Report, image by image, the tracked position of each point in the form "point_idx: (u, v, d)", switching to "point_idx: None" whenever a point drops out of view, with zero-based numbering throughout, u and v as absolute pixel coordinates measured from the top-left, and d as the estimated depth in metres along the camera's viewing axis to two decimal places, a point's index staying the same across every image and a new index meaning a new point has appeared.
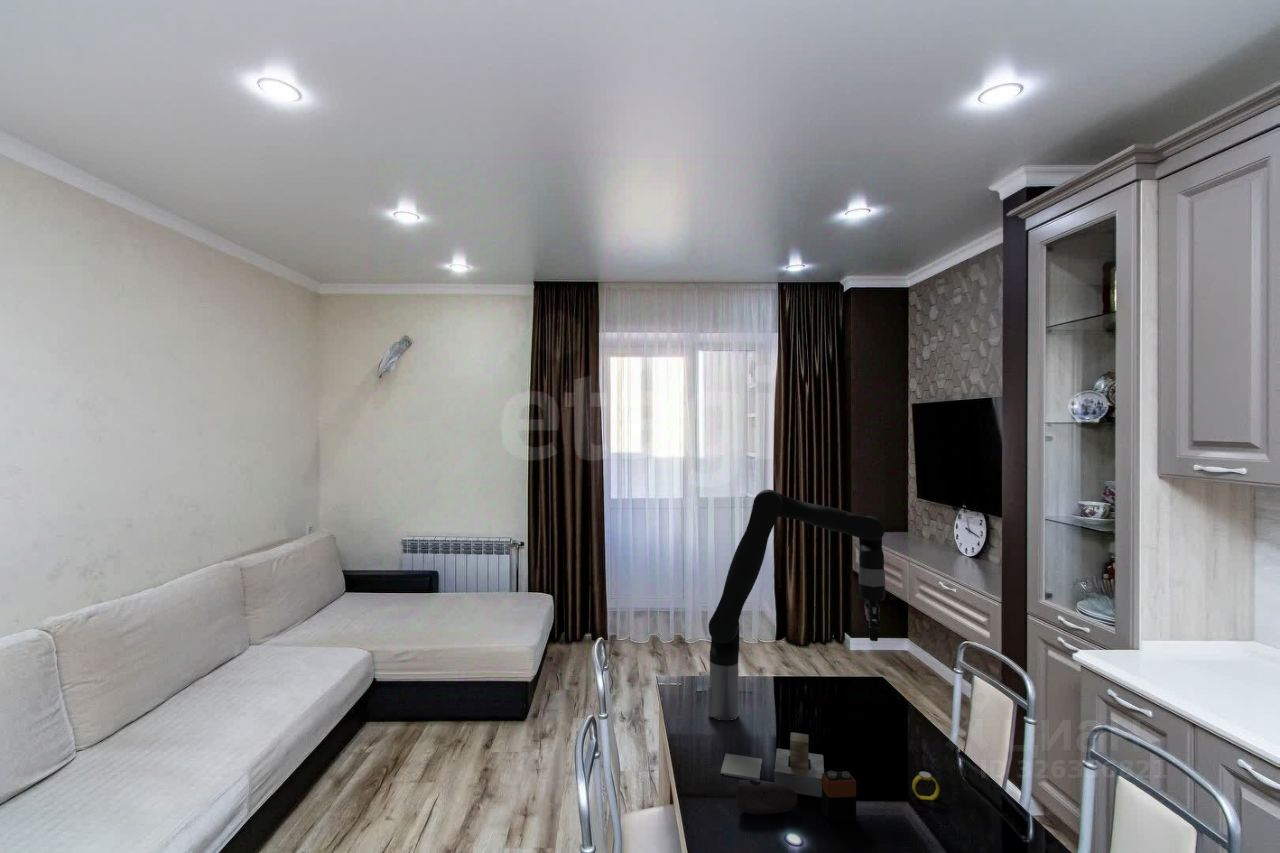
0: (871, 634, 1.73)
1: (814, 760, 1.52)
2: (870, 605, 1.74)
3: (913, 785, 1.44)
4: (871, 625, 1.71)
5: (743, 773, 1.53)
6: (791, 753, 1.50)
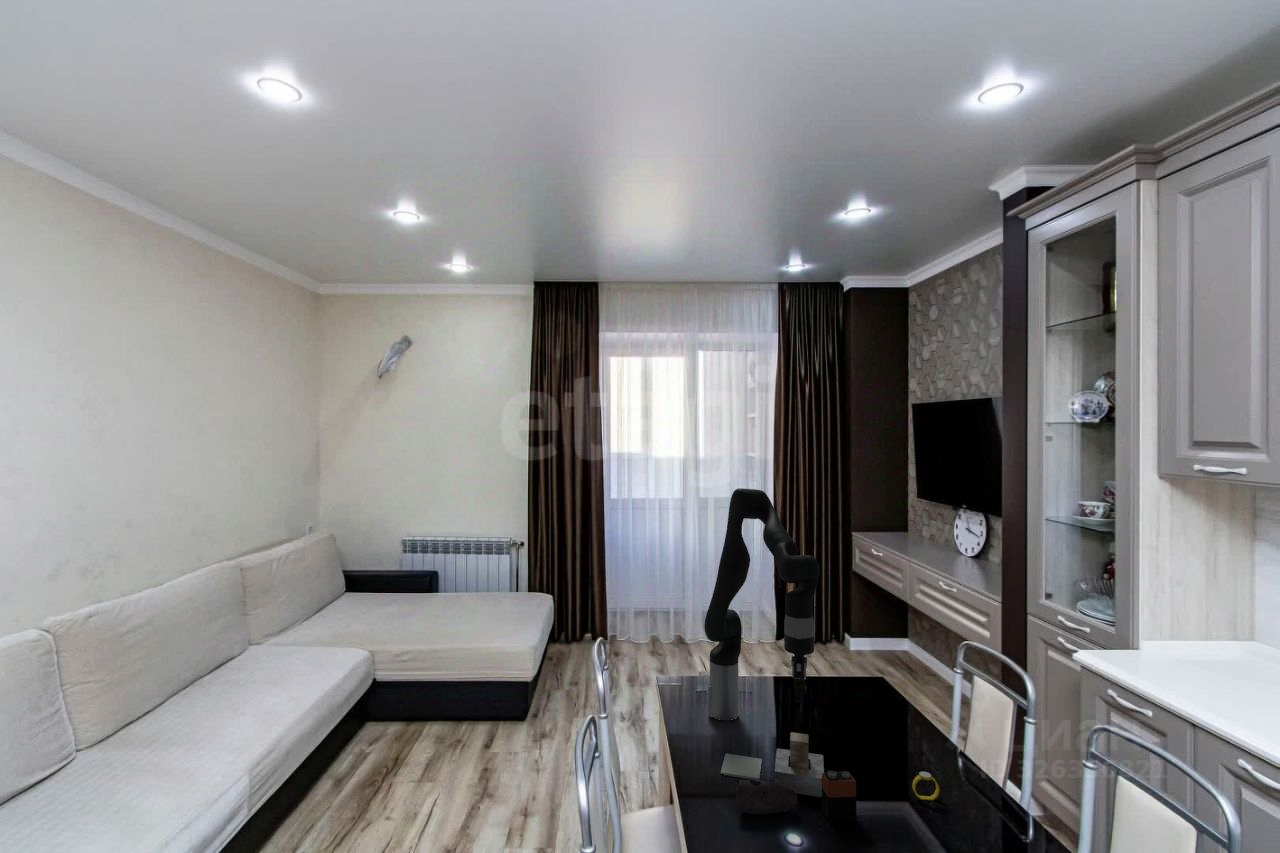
0: (796, 695, 1.48)
1: (814, 760, 1.52)
2: (795, 660, 1.49)
3: (913, 785, 1.44)
4: (795, 685, 1.46)
5: (743, 773, 1.53)
6: (791, 753, 1.50)
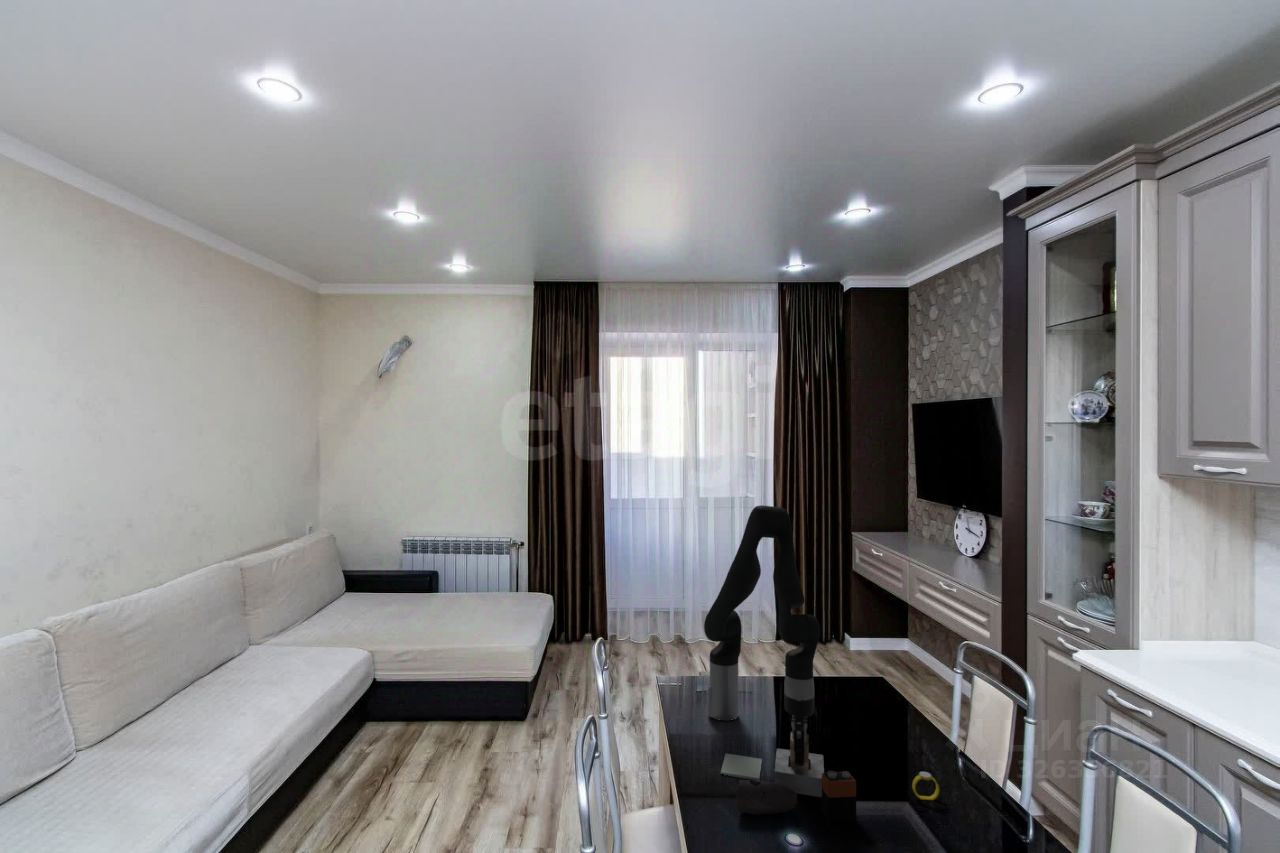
0: (796, 758, 1.48)
1: (814, 760, 1.52)
2: (795, 724, 1.48)
3: (913, 785, 1.44)
4: (795, 750, 1.47)
5: (743, 773, 1.53)
6: (791, 753, 1.50)
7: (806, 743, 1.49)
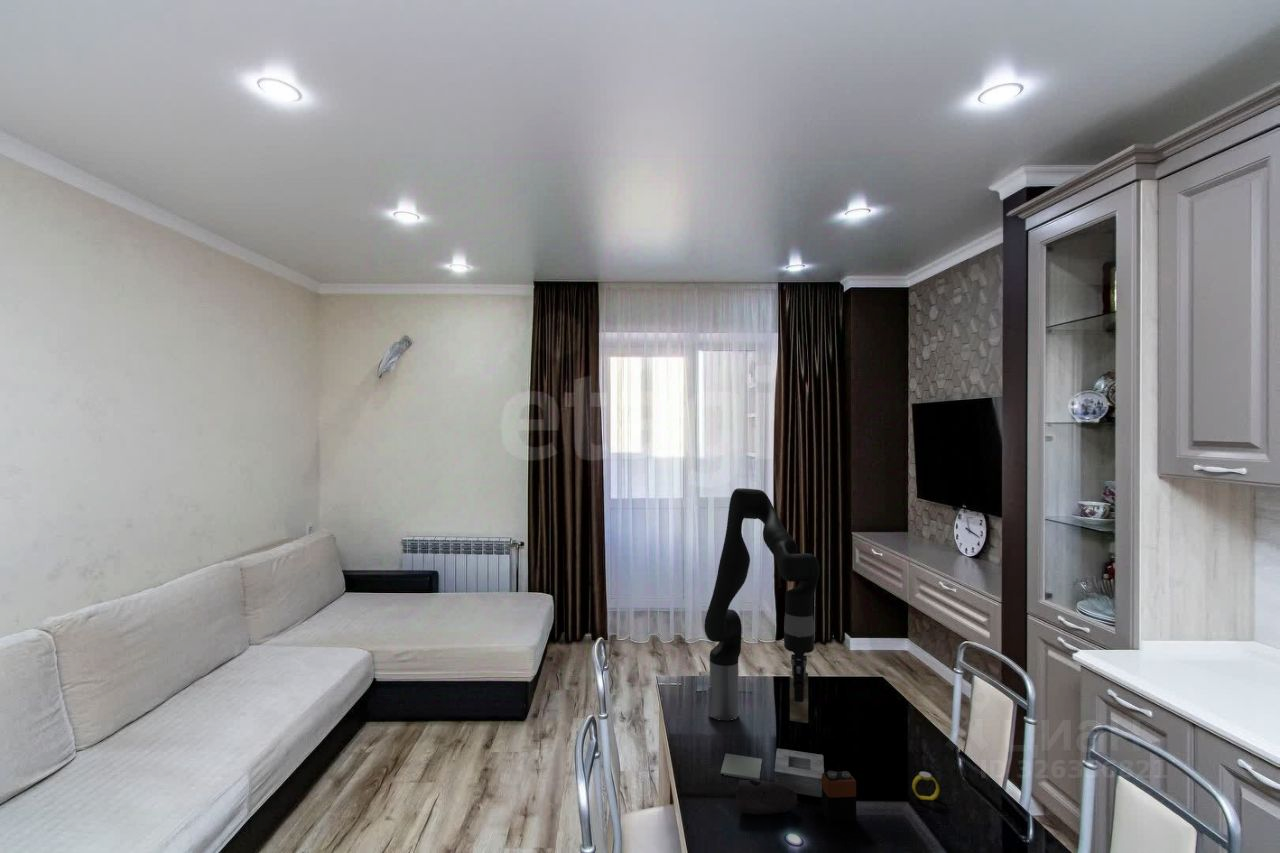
0: (796, 694, 1.49)
1: (814, 760, 1.52)
2: (795, 660, 1.49)
3: (913, 785, 1.44)
4: (795, 685, 1.47)
5: (743, 773, 1.53)
6: (791, 690, 1.51)
7: (806, 679, 1.50)
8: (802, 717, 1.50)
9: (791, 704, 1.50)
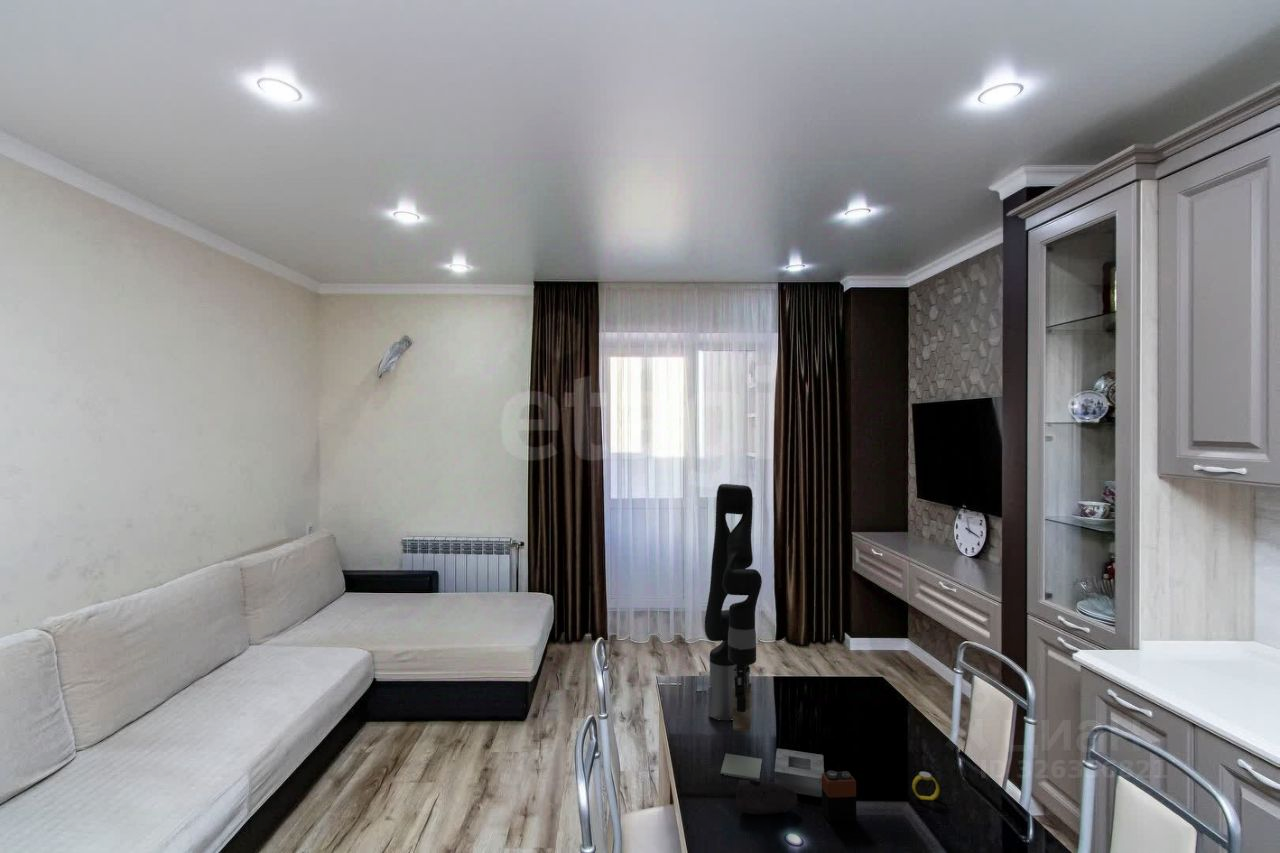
0: (738, 704, 1.55)
1: (814, 760, 1.52)
2: (737, 672, 1.55)
3: (913, 785, 1.44)
4: (736, 696, 1.53)
5: (743, 773, 1.53)
6: (734, 700, 1.56)
7: (748, 690, 1.55)
8: (744, 727, 1.55)
9: (734, 714, 1.56)
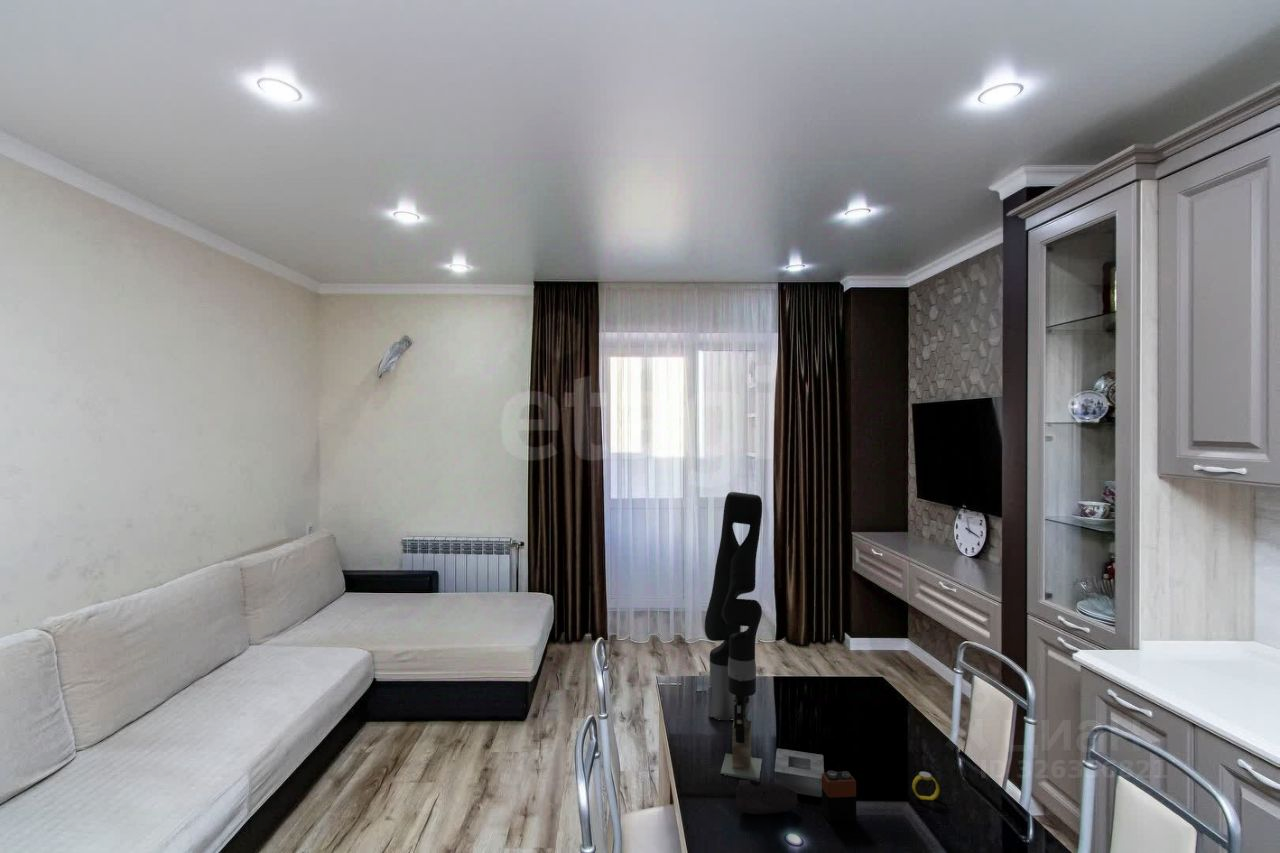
0: (737, 735, 1.53)
1: (814, 760, 1.52)
2: (737, 702, 1.54)
3: (913, 785, 1.44)
4: (735, 726, 1.51)
5: (743, 773, 1.53)
6: (733, 738, 1.56)
7: (747, 729, 1.55)
8: (743, 765, 1.55)
9: (733, 752, 1.56)
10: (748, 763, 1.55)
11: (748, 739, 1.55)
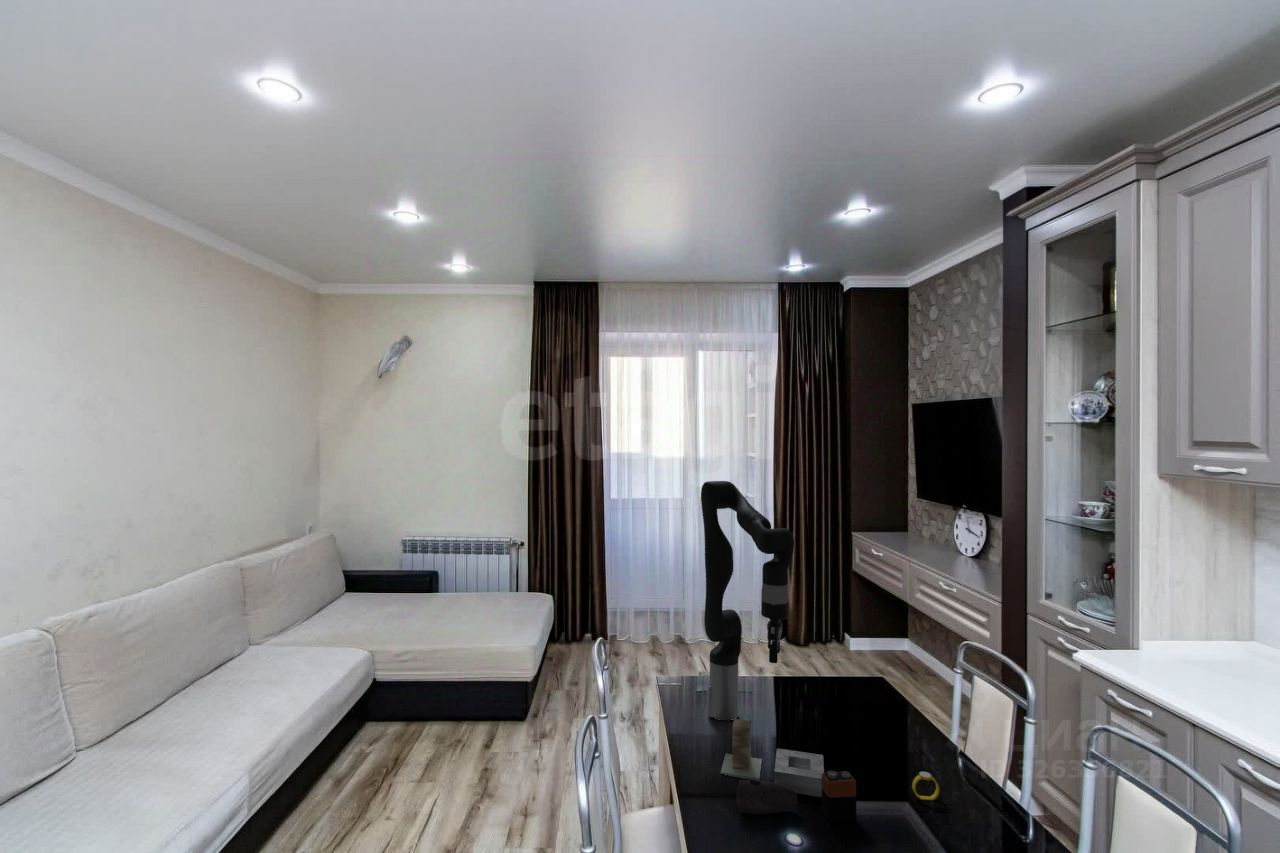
0: (770, 655, 1.60)
1: (814, 760, 1.52)
2: (770, 624, 1.62)
3: (913, 785, 1.44)
4: (769, 646, 1.59)
5: (743, 773, 1.53)
6: (733, 738, 1.56)
7: (747, 729, 1.55)
8: (743, 765, 1.55)
9: (733, 752, 1.56)
10: (748, 763, 1.55)
11: (748, 739, 1.55)
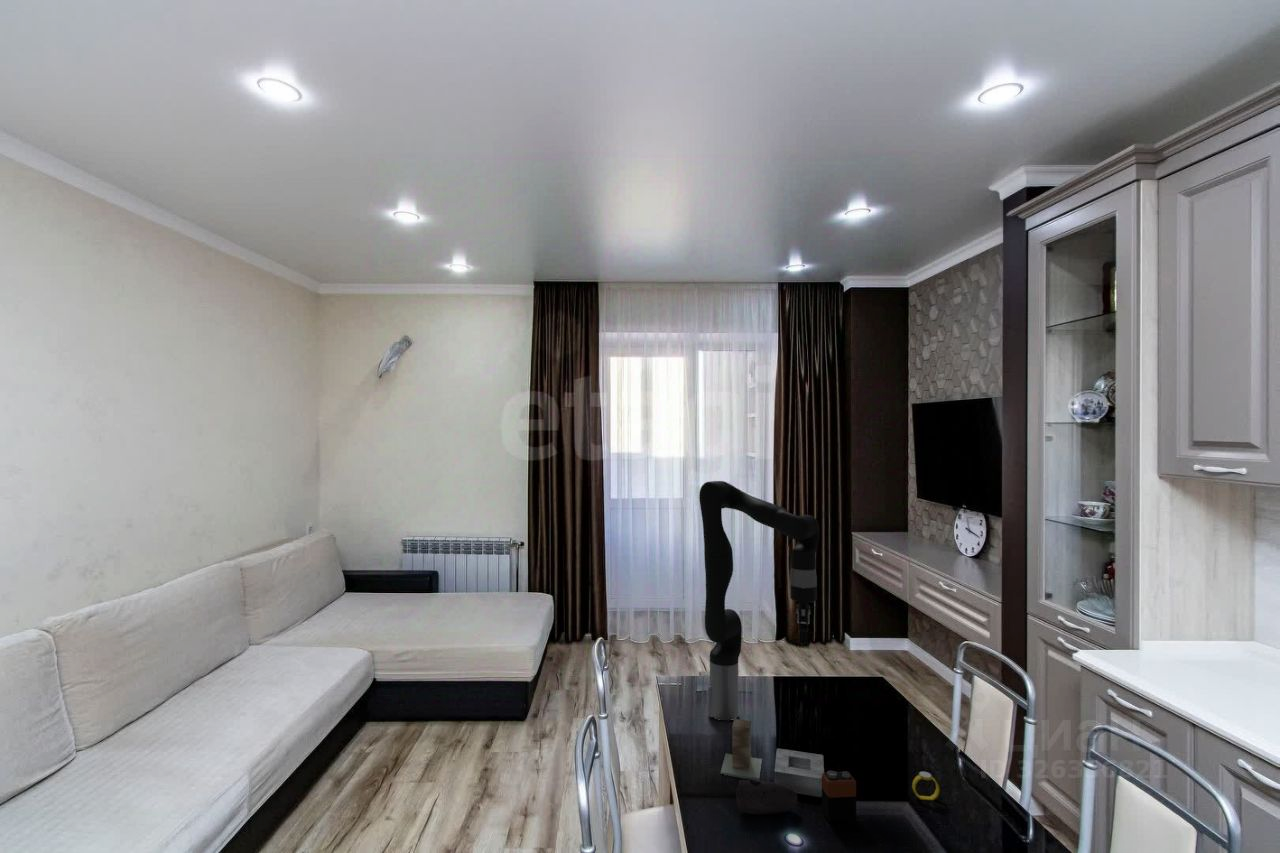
0: (800, 637, 1.67)
1: (814, 760, 1.52)
2: (800, 607, 1.68)
3: (913, 785, 1.44)
4: (800, 628, 1.65)
5: (743, 773, 1.53)
6: (733, 738, 1.56)
7: (747, 729, 1.55)
8: (743, 765, 1.55)
9: (733, 752, 1.56)
10: (748, 763, 1.55)
11: (748, 739, 1.55)
